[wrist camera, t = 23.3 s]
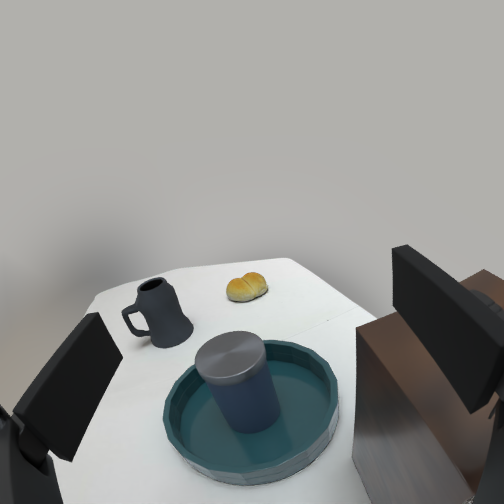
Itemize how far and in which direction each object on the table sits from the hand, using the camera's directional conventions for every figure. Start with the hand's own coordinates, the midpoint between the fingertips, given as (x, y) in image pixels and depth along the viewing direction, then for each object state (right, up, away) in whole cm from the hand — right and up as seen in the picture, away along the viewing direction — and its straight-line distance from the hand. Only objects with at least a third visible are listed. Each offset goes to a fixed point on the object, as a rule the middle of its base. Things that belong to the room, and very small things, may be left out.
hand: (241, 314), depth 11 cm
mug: (-16, -14, +40) cm, 46 cm away
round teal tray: (+1, -17, +19) cm, 26 cm away
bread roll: (0, -7, +50) cm, 51 cm away
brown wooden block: (+17, -19, +4) cm, 26 cm away
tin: (0, -17, +19) cm, 25 cm away
